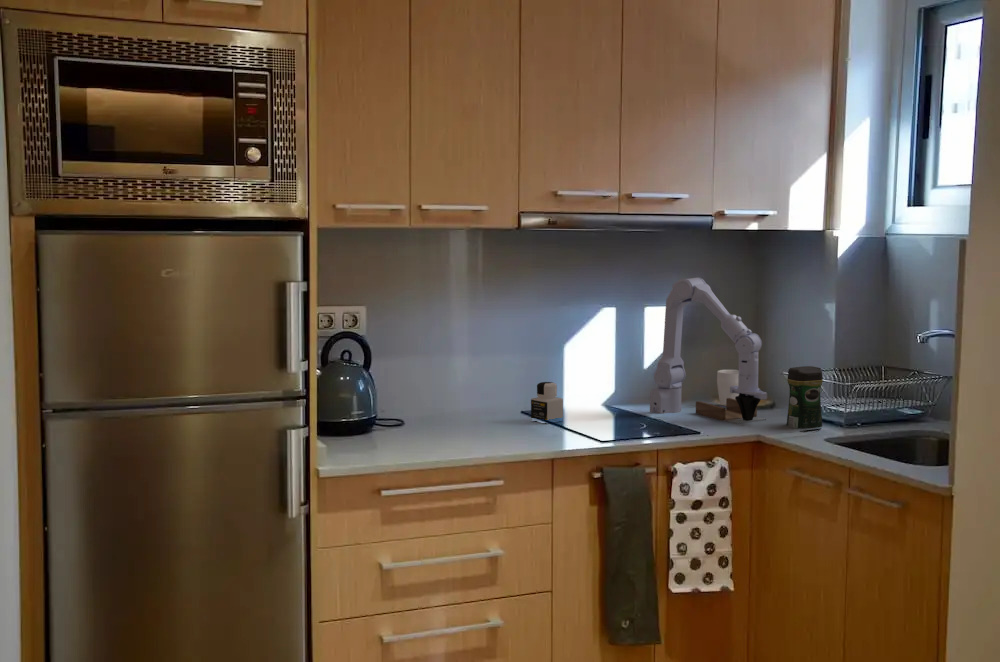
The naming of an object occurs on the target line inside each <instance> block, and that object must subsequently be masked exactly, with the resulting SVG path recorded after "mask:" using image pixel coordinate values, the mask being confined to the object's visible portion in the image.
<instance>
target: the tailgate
mask: <svg viewBox="0 0 1000 662" xmlns="http://www.w3.org/2000/svg"><path fill="white" fill-rule="evenodd" d="M762 421H767V418H763V417H758V416H757V417H753V420H749V421H746V420H743V418H742V419H733V420H725V421H724V422H729V423H733V424H736V425H737V424H745V423H752V422H762Z"/></svg>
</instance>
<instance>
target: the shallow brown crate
mask: <svg viewBox="0 0 1000 662" xmlns="http://www.w3.org/2000/svg"><path fill="white" fill-rule="evenodd" d="M695 414H697V415H699V416H704V417H707V418H711V419H715V420H719V421H724V422H726V421H725V420H734V419H743V418H742V414H741V410H740V407H739V404H738V402H737V401H736V399H732V398H727V401H726V407H725V406H724V407H723V406H721V405H720V406H718V405H716V404H715V405H714V404H711V403H709V402H704V401H698V400H697V401H695ZM754 417H758V406H757V407H756V410H755V413H754Z"/></svg>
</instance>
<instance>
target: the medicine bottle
mask: <svg viewBox="0 0 1000 662" xmlns="http://www.w3.org/2000/svg"><path fill="white" fill-rule="evenodd" d="M557 389H558V385H557V384H556V383H555V382H552V381H541V382H539V383H537V385H536V396H537V397H531V398H530V419H531V418H537V419H544V420H549V419H555V418H562V417H563V418H564V399H563V398H561V397H557V393H558V392H557V391H558V390H557Z"/></svg>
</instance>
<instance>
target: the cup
mask: <svg viewBox="0 0 1000 662" xmlns="http://www.w3.org/2000/svg"><path fill="white" fill-rule="evenodd" d="M716 373H717V374H716V384H717V391H718V392H717V393H718V401H719V405H720V406H724V407H725V406H726V401H727V398H732V399H735V397H736V396H739V394H737V393H730V386H738V373H739V369H719V370H717V372H716Z"/></svg>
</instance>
